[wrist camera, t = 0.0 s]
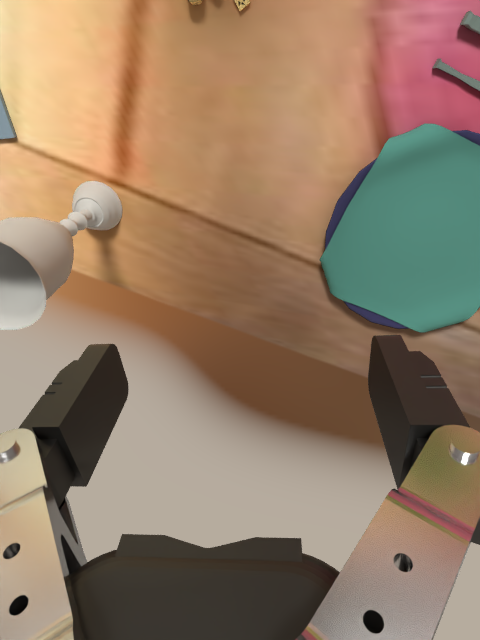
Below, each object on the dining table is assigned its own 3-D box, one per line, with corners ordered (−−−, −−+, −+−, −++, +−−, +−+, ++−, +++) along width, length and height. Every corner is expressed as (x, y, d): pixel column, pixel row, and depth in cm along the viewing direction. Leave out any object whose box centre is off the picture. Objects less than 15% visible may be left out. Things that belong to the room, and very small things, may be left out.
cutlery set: (288, 281, 43) (289, 290, 41) (474, -63, 28) (489, -74, 26) (441, 344, 46) (449, 355, 44) (680, 63, 31) (708, 61, 29)
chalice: (67, 234, 42) (-52, 323, 27) (57, 167, 38) (-87, 226, 23) (134, 241, 42) (54, 336, 27) (131, 176, 38) (35, 240, 23)
